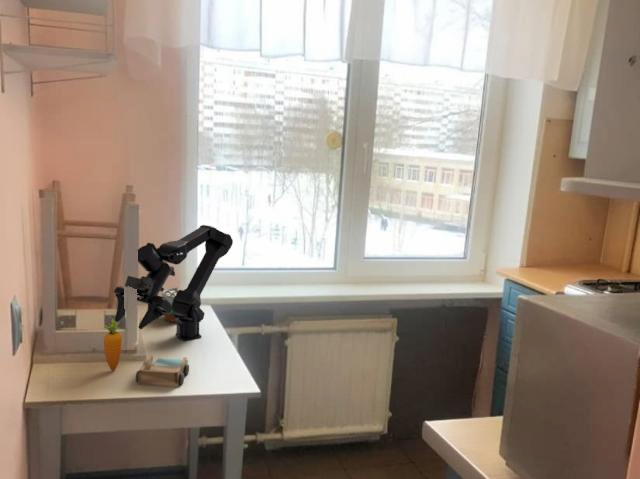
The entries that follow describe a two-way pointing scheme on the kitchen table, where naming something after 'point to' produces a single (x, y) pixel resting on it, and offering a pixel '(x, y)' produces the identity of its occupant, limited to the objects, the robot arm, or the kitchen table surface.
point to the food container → (170, 295)
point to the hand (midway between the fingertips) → (127, 324)
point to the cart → (162, 372)
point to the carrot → (112, 345)
